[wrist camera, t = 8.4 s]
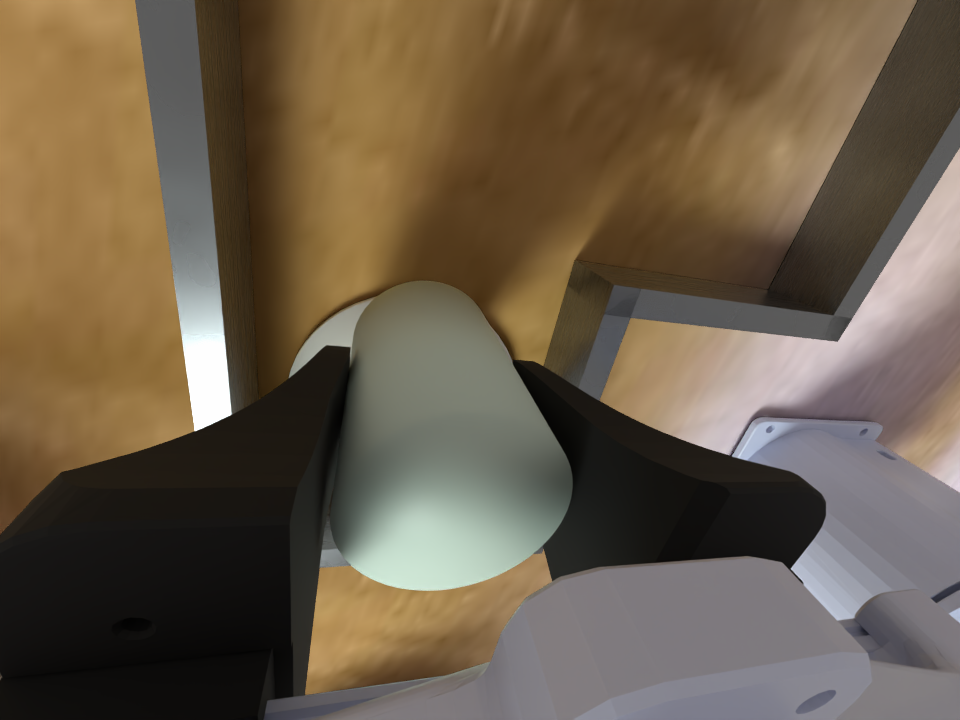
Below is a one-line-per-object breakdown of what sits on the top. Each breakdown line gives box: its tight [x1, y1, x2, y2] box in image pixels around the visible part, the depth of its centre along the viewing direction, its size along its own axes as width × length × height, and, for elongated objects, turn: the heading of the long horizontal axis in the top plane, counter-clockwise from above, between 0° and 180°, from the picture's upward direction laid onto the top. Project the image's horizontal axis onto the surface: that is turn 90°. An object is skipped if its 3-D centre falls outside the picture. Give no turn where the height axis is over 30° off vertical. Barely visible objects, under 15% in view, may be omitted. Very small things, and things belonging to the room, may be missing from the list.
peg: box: [330, 281, 573, 591], centre depth 11 cm, size 4×4×7 cm
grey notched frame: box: [135, 0, 960, 568], centre depth 14 cm, size 22×24×3 cm
